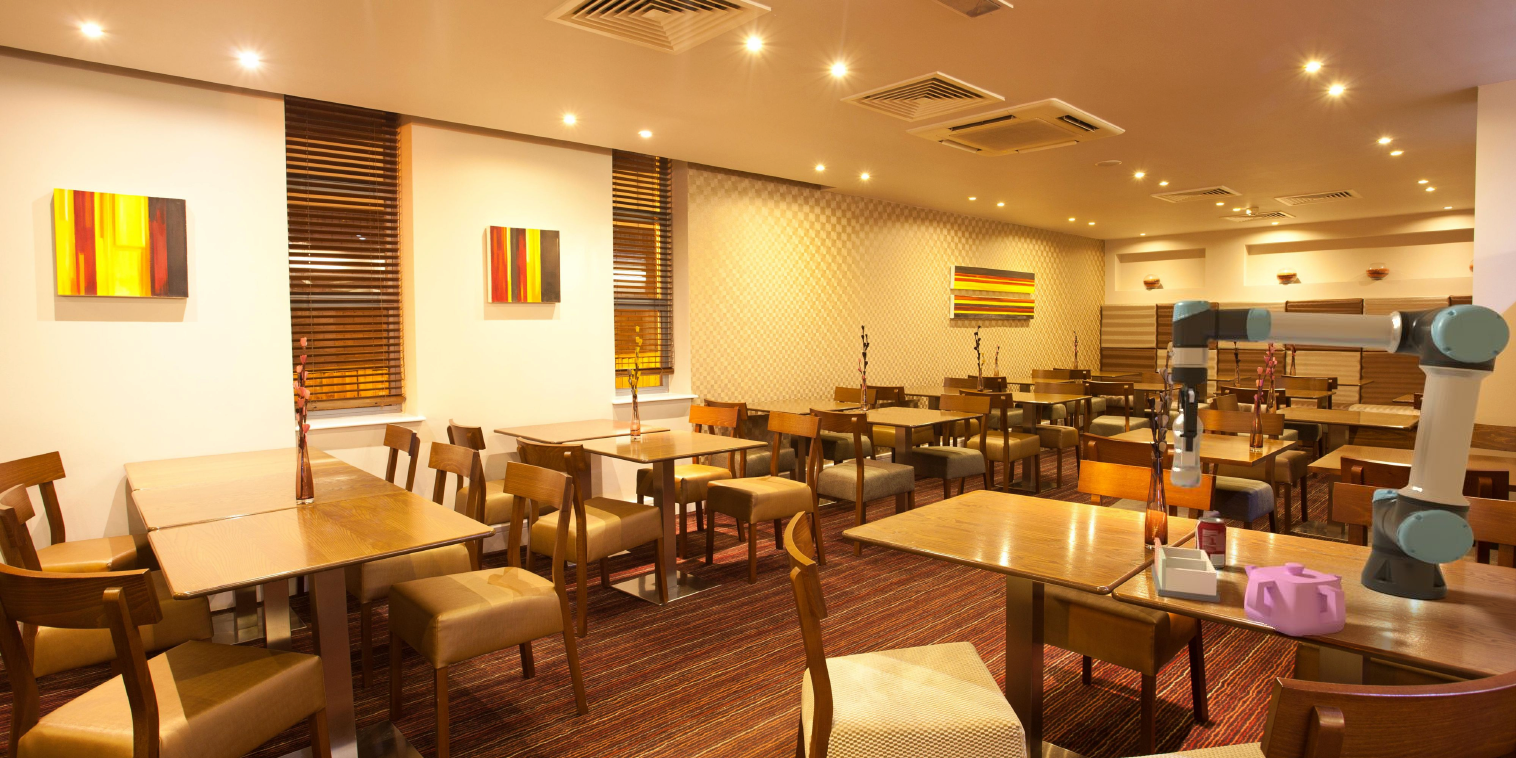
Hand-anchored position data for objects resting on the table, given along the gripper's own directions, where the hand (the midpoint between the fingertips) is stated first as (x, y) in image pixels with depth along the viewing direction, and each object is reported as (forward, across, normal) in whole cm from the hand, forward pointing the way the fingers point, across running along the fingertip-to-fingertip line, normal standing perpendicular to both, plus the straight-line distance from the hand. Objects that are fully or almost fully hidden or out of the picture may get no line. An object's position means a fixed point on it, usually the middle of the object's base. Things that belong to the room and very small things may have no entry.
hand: (1186, 462), depth 181 cm
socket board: (+28, +5, 0) cm, 29 cm away
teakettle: (+28, +23, +18) cm, 41 cm away
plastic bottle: (+6, 0, 0) cm, 6 cm away
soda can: (+28, -16, +8) cm, 34 cm away
